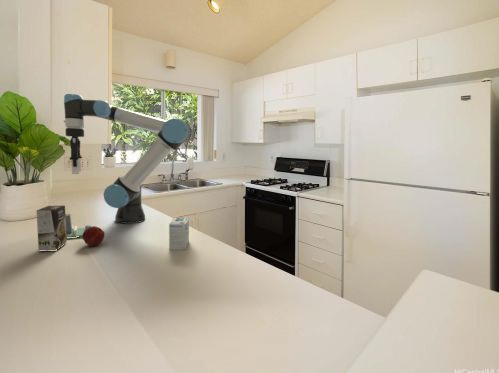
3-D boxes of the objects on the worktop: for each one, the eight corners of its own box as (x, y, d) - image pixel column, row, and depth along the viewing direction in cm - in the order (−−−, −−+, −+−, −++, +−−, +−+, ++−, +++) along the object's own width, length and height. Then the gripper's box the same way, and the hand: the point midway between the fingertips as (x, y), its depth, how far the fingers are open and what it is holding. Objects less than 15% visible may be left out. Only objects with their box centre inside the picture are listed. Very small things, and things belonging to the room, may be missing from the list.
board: (97, 229, 135) (96, 222, 134) (96, 236, 124) (96, 229, 124) (57, 232, 127) (56, 226, 127) (53, 240, 117) (52, 233, 116)
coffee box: (57, 251, 105) (55, 210, 103) (38, 252, 104) (35, 210, 102) (67, 243, 114) (65, 205, 112) (50, 244, 113) (47, 205, 110)
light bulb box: (173, 241, 122) (173, 217, 120) (189, 241, 122) (189, 217, 121) (168, 249, 111) (168, 223, 110) (185, 250, 112) (186, 224, 110)
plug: (72, 230, 126) (70, 212, 125) (71, 233, 123) (69, 213, 122) (62, 232, 125) (60, 212, 123) (61, 234, 122) (59, 214, 120)
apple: (99, 248, 110) (98, 229, 109) (78, 248, 109) (77, 228, 108) (107, 242, 117) (106, 224, 116) (88, 242, 116) (87, 223, 115)
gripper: (68, 129, 142) (70, 170, 145) (61, 126, 120) (64, 175, 123) (85, 129, 145) (86, 170, 148) (82, 127, 123) (84, 175, 126)
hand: (76, 172), depth 135 cm, fingers open, 13 cm apart
